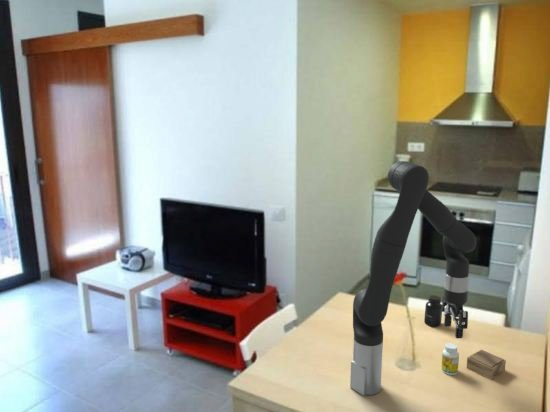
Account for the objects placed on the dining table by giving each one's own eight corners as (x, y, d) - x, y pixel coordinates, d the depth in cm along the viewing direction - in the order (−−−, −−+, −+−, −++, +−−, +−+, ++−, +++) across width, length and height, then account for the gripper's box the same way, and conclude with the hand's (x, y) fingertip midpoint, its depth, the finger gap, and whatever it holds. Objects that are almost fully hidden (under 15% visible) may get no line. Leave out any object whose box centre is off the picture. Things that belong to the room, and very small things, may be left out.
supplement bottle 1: (424, 326, 194) (426, 299, 192) (424, 319, 201) (425, 293, 198) (441, 328, 192) (443, 301, 190) (440, 321, 199) (442, 295, 196)
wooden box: (491, 379, 156) (492, 368, 155) (466, 367, 163) (467, 356, 163) (504, 370, 162) (505, 359, 161) (480, 359, 169) (481, 348, 168)
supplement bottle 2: (460, 373, 160) (463, 348, 158) (447, 376, 158) (449, 351, 156) (450, 365, 165) (452, 341, 163) (437, 368, 163) (439, 343, 161)
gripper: (477, 295, 148) (473, 341, 152) (457, 278, 162) (454, 321, 166) (454, 296, 148) (451, 342, 151) (436, 279, 162) (433, 322, 165)
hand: (453, 331), depth 158 cm, fingers open, 8 cm apart
